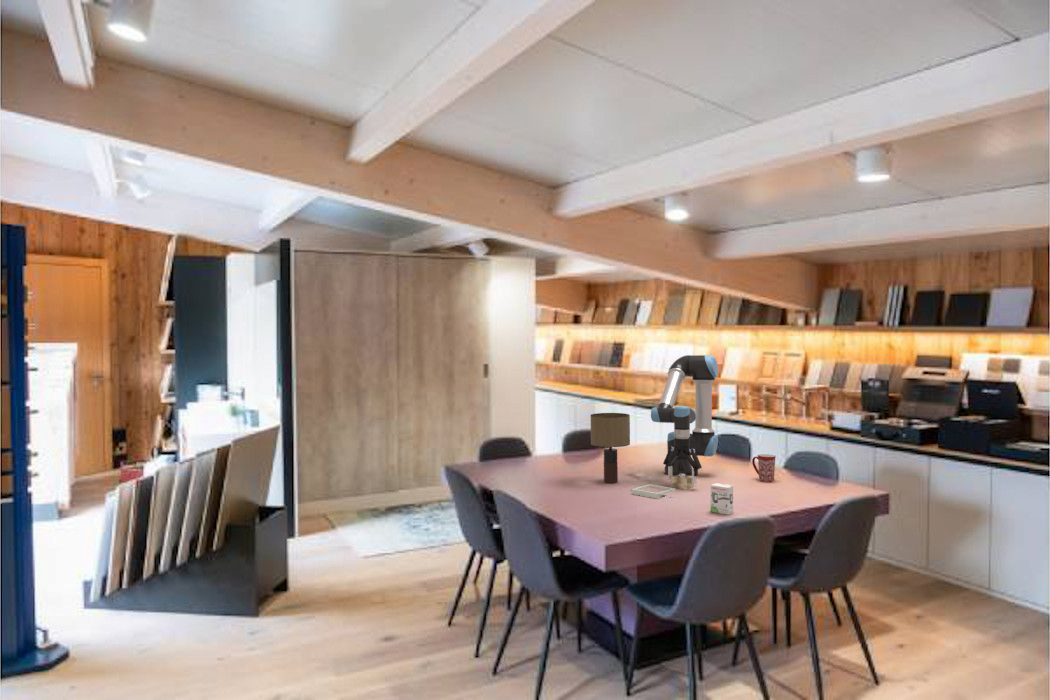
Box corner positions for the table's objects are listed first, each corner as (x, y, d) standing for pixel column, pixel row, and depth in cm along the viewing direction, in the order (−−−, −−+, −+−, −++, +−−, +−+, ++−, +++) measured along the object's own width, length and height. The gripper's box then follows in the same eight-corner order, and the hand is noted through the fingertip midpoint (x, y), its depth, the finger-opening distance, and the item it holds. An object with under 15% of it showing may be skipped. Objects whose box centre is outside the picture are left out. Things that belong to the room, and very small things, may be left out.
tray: (631, 494, 344) (631, 489, 344) (649, 488, 354) (649, 484, 354) (657, 498, 333) (657, 493, 333) (675, 493, 344) (675, 488, 344)
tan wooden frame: (670, 487, 351) (670, 477, 351) (681, 484, 357) (681, 474, 357) (685, 489, 345) (685, 479, 345) (695, 486, 352) (695, 476, 352)
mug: (779, 481, 368) (779, 455, 368) (769, 483, 363) (769, 457, 363) (758, 477, 379) (758, 451, 378) (748, 479, 373) (747, 453, 373)
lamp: (593, 477, 384) (592, 412, 383) (631, 478, 380) (630, 413, 379) (589, 485, 364) (588, 417, 363) (629, 486, 360) (628, 417, 359)
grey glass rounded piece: (672, 490, 351) (672, 473, 351) (680, 487, 356) (680, 471, 356) (684, 492, 346) (684, 475, 346) (692, 489, 351) (692, 473, 351)
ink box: (710, 511, 308) (709, 484, 308) (715, 509, 312) (715, 482, 311) (728, 515, 302) (728, 487, 302) (733, 512, 306) (733, 485, 306)
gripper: (656, 436, 356) (656, 478, 356) (700, 440, 339) (700, 485, 339) (664, 434, 362) (664, 476, 362) (708, 439, 344) (708, 483, 344)
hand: (682, 481), depth 350 cm, fingers open, 13 cm apart
